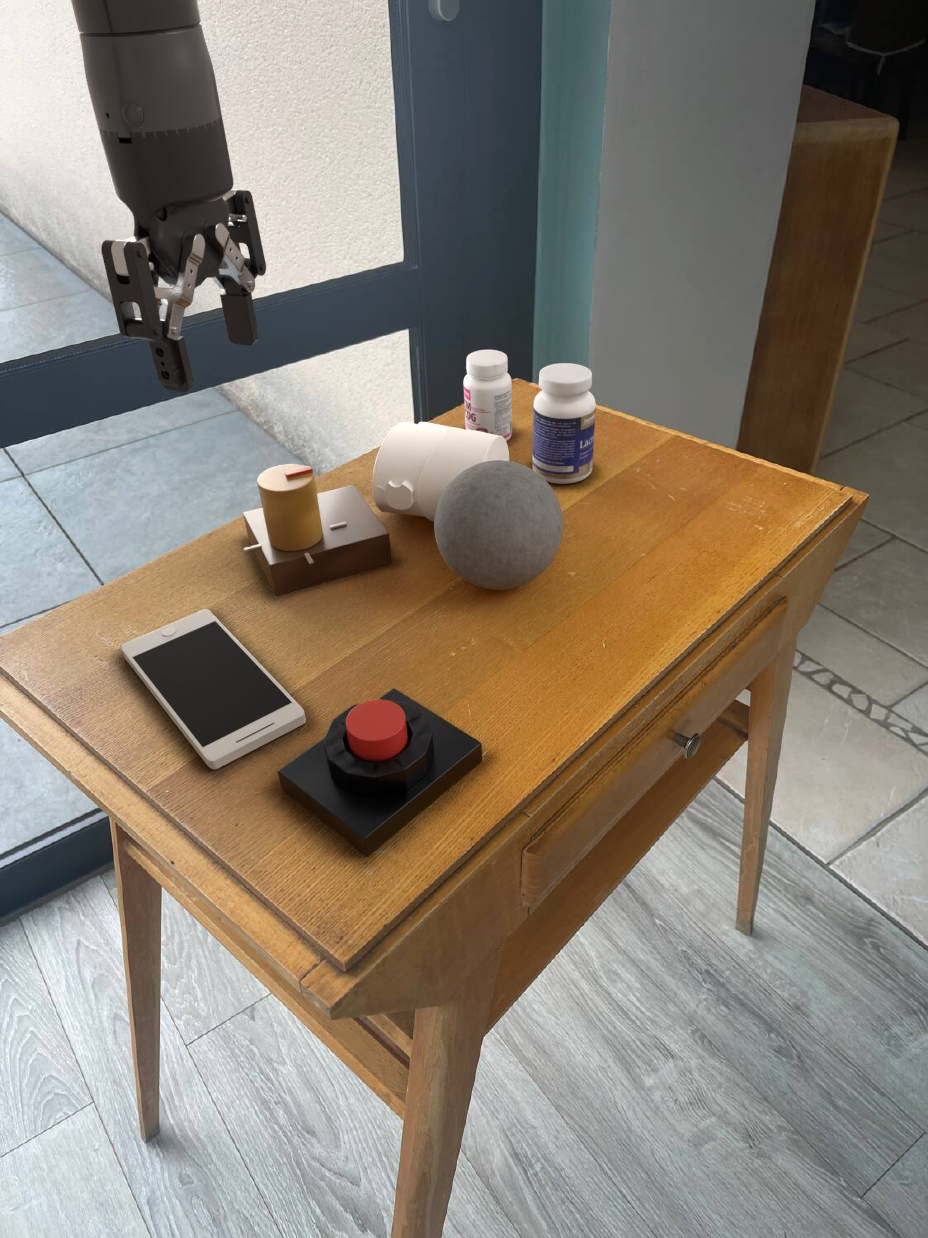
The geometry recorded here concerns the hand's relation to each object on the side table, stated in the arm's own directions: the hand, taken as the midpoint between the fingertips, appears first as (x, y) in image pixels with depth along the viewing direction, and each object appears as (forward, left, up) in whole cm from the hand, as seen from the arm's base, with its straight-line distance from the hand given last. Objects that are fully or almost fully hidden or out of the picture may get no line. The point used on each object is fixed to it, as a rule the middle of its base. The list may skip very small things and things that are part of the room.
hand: (213, 365), depth 68 cm
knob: (+3, -2, -15) cm, 15 cm away
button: (+1, -27, -14) cm, 31 cm away
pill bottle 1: (+27, +12, -18) cm, 35 cm away
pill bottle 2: (+30, +2, -18) cm, 35 cm away
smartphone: (-7, -14, -18) cm, 23 cm away
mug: (+18, +1, -18) cm, 26 cm away
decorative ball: (+17, -11, -18) cm, 27 cm away
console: (+5, 0, -18) cm, 19 cm away
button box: (+1, -27, -18) cm, 32 cm away
